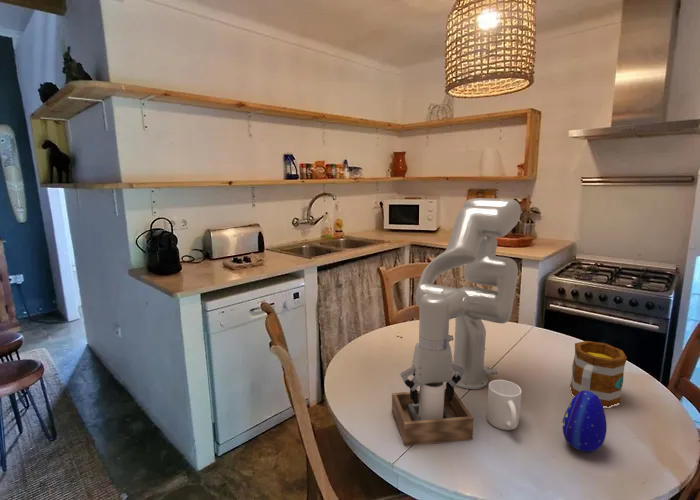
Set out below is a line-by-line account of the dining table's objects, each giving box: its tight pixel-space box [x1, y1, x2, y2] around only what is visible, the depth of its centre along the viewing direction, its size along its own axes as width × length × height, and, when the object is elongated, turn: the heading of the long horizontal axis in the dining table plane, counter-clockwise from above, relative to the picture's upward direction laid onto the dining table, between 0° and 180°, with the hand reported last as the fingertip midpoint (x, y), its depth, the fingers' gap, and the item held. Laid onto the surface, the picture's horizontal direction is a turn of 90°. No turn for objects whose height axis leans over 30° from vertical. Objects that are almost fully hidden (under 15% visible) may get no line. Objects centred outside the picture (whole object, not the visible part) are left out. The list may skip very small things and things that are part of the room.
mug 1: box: [486, 379, 522, 431], centre depth 104 cm, size 12×8×10 cm
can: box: [419, 382, 446, 420], centre depth 104 cm, size 6×6×12 cm
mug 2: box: [569, 340, 628, 407], centre depth 115 cm, size 20×14×15 cm
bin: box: [391, 388, 475, 447], centre depth 105 cm, size 18×14×6 cm
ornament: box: [562, 391, 608, 453], centre depth 95 cm, size 11×9×15 cm
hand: (431, 399), depth 104 cm, fingers open, 9 cm apart
